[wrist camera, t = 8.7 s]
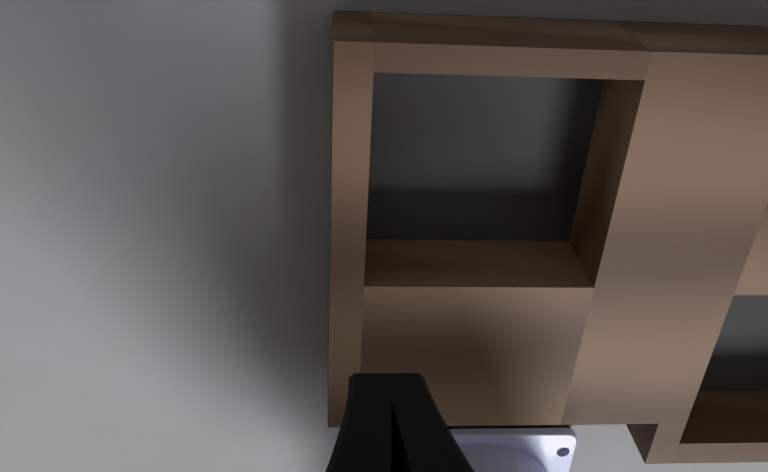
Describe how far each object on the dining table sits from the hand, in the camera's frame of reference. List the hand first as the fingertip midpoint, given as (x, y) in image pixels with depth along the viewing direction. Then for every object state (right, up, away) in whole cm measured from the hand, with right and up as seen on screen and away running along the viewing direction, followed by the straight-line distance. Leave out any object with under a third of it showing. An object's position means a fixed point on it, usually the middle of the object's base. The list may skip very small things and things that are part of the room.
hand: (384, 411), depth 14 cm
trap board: (+11, +3, +11) cm, 16 cm away
